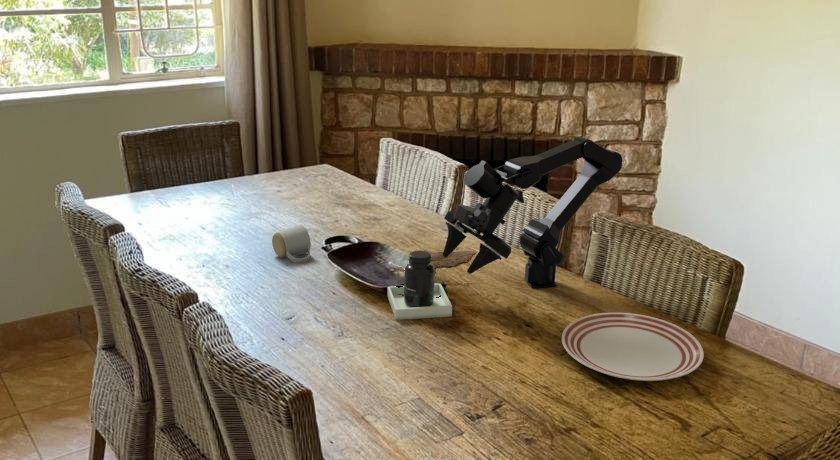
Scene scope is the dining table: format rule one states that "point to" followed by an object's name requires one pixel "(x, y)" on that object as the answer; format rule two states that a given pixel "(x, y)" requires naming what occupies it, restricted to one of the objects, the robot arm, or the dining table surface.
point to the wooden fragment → (447, 259)
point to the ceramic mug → (292, 243)
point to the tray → (402, 311)
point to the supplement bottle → (419, 280)
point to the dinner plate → (632, 346)
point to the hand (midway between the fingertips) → (456, 264)
